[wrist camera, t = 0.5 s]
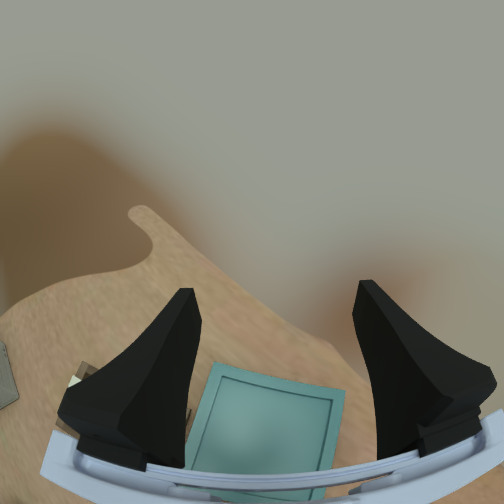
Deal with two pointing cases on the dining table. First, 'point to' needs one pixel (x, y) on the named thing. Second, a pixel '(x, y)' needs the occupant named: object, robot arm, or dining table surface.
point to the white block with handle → (74, 381)
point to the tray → (263, 431)
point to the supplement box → (6, 379)
